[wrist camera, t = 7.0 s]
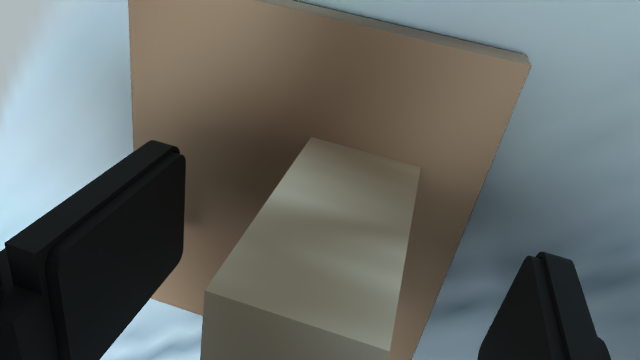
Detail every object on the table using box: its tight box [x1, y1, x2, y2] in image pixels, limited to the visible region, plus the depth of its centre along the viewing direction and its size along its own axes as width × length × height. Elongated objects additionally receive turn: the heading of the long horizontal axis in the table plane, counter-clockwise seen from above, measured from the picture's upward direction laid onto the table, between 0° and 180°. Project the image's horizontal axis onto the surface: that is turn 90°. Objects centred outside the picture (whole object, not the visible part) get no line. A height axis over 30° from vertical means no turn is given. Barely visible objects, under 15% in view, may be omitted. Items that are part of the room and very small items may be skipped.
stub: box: [128, 0, 531, 360], centre depth 10 cm, size 8×9×6 cm
